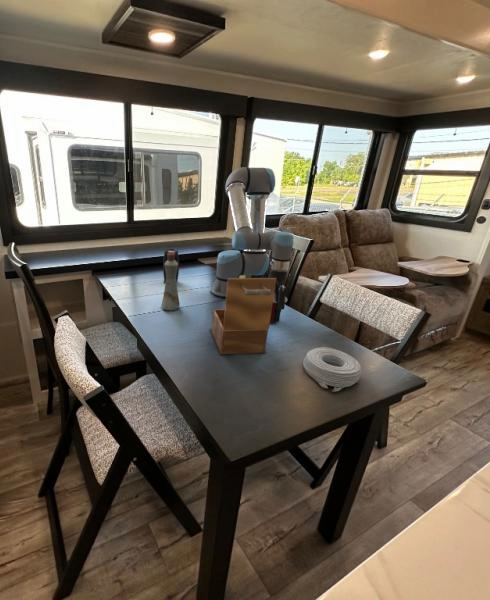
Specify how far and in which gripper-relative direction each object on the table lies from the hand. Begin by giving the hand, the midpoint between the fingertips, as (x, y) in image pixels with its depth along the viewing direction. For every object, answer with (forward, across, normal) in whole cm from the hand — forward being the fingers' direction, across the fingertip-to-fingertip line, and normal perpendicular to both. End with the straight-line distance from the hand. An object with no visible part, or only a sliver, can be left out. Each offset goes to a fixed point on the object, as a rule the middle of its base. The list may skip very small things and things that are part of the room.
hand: (271, 316), depth 141 cm
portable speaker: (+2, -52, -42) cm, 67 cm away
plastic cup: (+2, 0, 0) cm, 2 cm away
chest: (+2, +17, -21) cm, 27 cm away
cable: (+2, +40, +5) cm, 40 cm away
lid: (-18, +26, -21) cm, 38 cm away
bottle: (+2, -16, -45) cm, 48 cm away
